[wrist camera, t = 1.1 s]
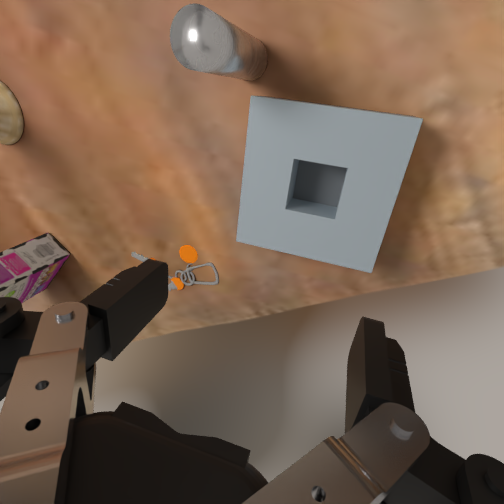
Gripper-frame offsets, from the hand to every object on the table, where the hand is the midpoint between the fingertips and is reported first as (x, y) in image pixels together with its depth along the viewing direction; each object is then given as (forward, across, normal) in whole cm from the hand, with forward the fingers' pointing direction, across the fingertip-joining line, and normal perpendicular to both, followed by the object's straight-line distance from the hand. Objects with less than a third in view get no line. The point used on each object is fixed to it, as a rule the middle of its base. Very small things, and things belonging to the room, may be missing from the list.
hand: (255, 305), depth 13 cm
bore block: (+24, 0, 0) cm, 24 cm away
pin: (+24, +9, -10) cm, 28 cm away
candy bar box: (+24, +40, +21) cm, 51 cm away
